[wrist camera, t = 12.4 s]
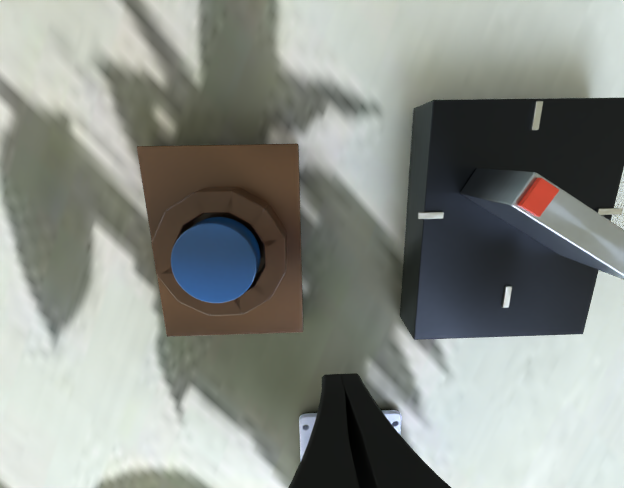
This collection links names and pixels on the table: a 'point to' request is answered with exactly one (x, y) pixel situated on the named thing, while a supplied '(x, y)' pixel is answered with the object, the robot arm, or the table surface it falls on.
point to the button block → (238, 206)
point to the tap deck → (493, 230)
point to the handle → (549, 217)
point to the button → (216, 260)
